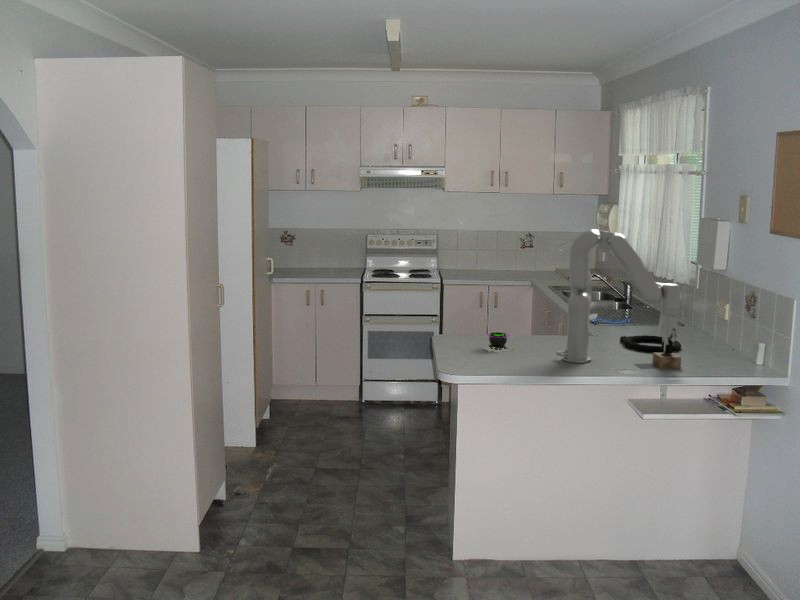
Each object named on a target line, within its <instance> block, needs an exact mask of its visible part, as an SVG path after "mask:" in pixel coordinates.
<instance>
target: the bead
mask: <svg viewBox="0 0 800 600" xmlns="http://www.w3.org/2000/svg"><path fill="white" fill-rule="evenodd" d="M663 355H664V352H663V353H652V360H651V361H652V364H654V365H656V366H657V367H659V368H666V369H682V368H681V367H682V366H681V364H682V356H680V355H679V354H677V353H675V352H673V353H672V354H671V356H663Z"/></svg>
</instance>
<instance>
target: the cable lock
mask: <svg viewBox="0 0 800 600" xmlns="http://www.w3.org/2000/svg"><path fill="white" fill-rule="evenodd" d="M619 342H620V343H621V344H623V346H624V347H625V348H626V349H627V348H628V349H629V350H632V351H636V352H641V351H642V352H643V353H649V352H650V353H652V354H653V353H663V352H662V345H648V344H640V343H653V342H654V343H655V344H662V336H660V335H659V336H658V335H648V334H647V335H645V334H644V335H632V336H631V335H629V336H626V335H621V336H620V337H619ZM681 348H682V344H681V342H679V341H678V340H676V341H675V342H674V345H673V353H675V352H674V351H676V352H679V351H680V350H681Z"/></svg>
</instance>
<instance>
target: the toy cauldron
mask: <svg viewBox="0 0 800 600" xmlns="http://www.w3.org/2000/svg"><path fill="white" fill-rule="evenodd" d="M502 328H503V327H502V326H501V329H502ZM505 332H506V330H505V331H504V330H503V332H502V331H493V332H489V333H486V336H487V337H488V341H489V344H488V345H487V346H489V347H490V348H491V349H493V348H492V347H495V348H494V349H495V350H498V348H499V350H502V348H504V349H508V347H509V346H508V347H506V346H507V345H506V344H507V340H508V337H511V336H510V334H508V333H505Z"/></svg>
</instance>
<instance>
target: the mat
mask: <svg viewBox="0 0 800 600" xmlns="http://www.w3.org/2000/svg"><path fill="white" fill-rule="evenodd" d="M633 365H634V366H635V367H637V368H639V369H640V370H649V369H650V370H651V369H653V370H654V369H656V370H658V369H662V370H663V369H664V370H665V369H667V368H659V367H657V366H656V365H654V364H652V363H633ZM680 369H683V367H682V366H681V368H680Z"/></svg>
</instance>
